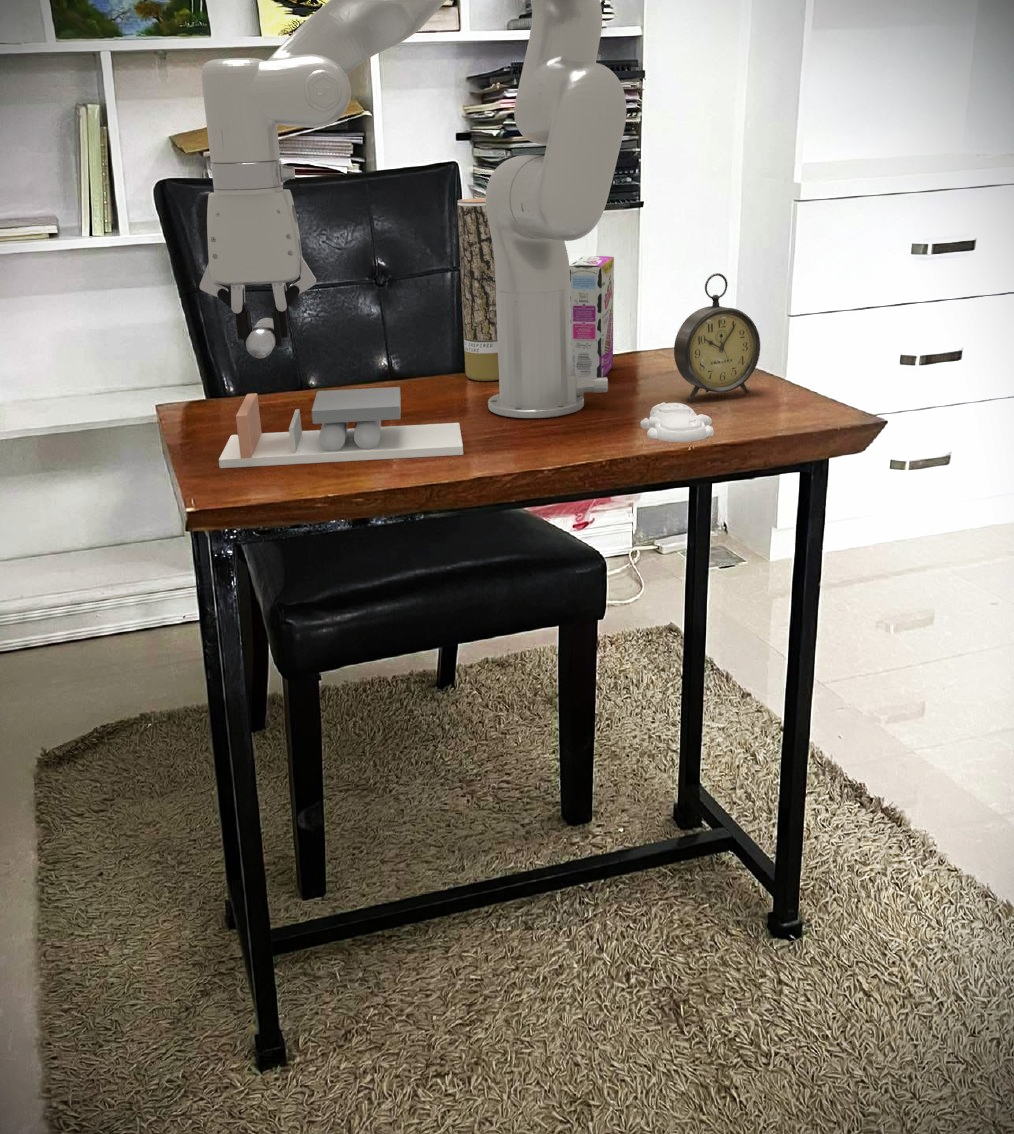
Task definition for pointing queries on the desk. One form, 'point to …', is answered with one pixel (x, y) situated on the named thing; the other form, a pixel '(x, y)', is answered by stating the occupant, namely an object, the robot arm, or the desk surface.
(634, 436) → the desk surface
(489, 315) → the paper tube
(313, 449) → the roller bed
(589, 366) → the candy bar box
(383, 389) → the slab
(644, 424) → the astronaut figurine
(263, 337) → the roller
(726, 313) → the alarm clock
